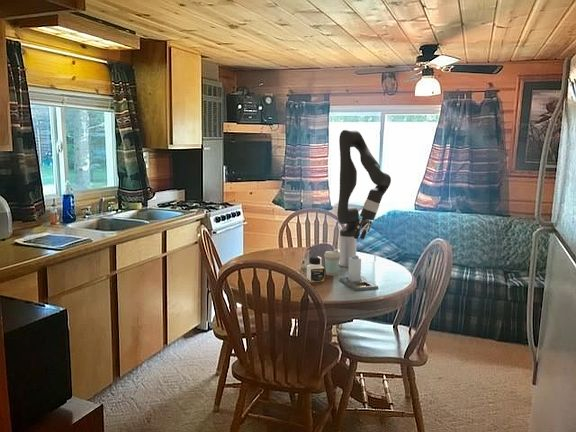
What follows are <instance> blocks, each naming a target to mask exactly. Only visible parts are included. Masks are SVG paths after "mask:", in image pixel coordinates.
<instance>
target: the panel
mask: <svg viewBox="0 0 576 432" xmlns="http://www.w3.org/2000/svg"><path fill="white" fill-rule="evenodd" d="M339 282H341V283H342V284H344V285H345V286H347V287H349V288H350V289H351V290H352V291H355V292H360V291H369V290H370V291H371V290H379V285H377V284H376V283H374V282H372V281H371V280H369V279H367V278H365V277H363V276H362V275H361V280H360V281H354V282H351V281H349V280H348V276H347V277H339Z"/></svg>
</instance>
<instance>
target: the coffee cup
mask: <svg viewBox="0 0 576 432" xmlns="http://www.w3.org/2000/svg"><path fill="white" fill-rule="evenodd" d="M323 254H324V255H323V256H324V263H325V272H326V273H325V274H326V275H327V276H332V277H333V276H337V275H338V274H339V273H338V272H339V266H340V265H339V259H340V251H339V250H338V251H336V250H327V251H325V252H324V253H323Z"/></svg>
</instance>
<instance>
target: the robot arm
mask: <svg viewBox="0 0 576 432" xmlns="http://www.w3.org/2000/svg"><path fill="white" fill-rule="evenodd" d="M338 145H339V157H340V158H339V161H340V162H339V163H340V164H339V167H340V169H339V195H338V197H339V198H338V203H337V204H338V205H337V213H336V214H337V215H336V216H337V220H338V222H339V223H340V224H341V225H346V226H345V227H344V228H341V229H340V231H339V253H340V259H339V266H340V267H345V268H349V258H351V257H352V256H356V255H357V240H359V239H360V240H365V237H366V235H367V234H368V233H369V232H370V231H371V230H370V229H371V227H372V225H373V221H375V218H376V216H377V213H378V210H379V208H380V203H381V201H382V199H383V197H384V195H385V193H386V192H387V191H388V188H389V187H390V185H391V183H392V179H391V176H390V174H388V173H386V172H383V171H382V170H381V165H380V164H379V162H378V161H377V160H376V158H375V157H374V155H373V154H372V153H371V150H370V149H369V148H368V145H367V143H366V142H365V139H364V137H363V135H362V134H361V132H360V131H358V130H356V129H343V130H341V132H340V134H339V144H338ZM351 148H355V149H356V150H357V151H358V153H359V155H360V163H361V166H362V167H363V168H364V169H365V171H366V172H367V173H368V176H369V178H370V180H371V181H372V183H373V184H374V185H375V187H374V188H372V189H370V190H369V192H368V194H367V197H366V200H365V202H364V204H363V207H362V208H361V211H360V214H359V209H358V208H357V207H355V206H349V202H350V201H349V200H350V197H351V195H352V193H353V192H354V189H355V188H356V185H357V182H358V179H357V177H358V176H357V175H358V171H357V167H356V166H355V163H354V162H353V160H352V156H351ZM360 217H362V218H360Z"/></svg>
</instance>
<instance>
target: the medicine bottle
mask: <svg viewBox="0 0 576 432" xmlns="http://www.w3.org/2000/svg"><path fill="white" fill-rule="evenodd" d="M322 260H323V258H322V257H321V256H319V255H312V256H310V257H309V264H307V265H306V280H308V281H309V282H310V283H317V282H325V267H324V266H323V263H322V262H323V261H322Z"/></svg>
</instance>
